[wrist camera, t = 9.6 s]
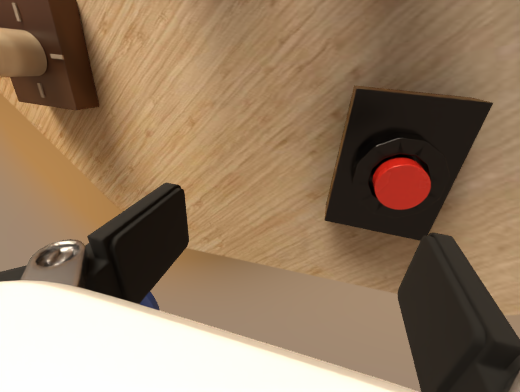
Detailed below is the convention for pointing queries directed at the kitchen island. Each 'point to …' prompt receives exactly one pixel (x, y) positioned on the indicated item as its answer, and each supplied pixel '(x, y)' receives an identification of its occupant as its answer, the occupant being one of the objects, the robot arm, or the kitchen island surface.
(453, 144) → the red push button box
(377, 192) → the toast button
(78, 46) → the dial panel
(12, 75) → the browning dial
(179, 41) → the kitchen island surface
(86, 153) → the kitchen island surface
